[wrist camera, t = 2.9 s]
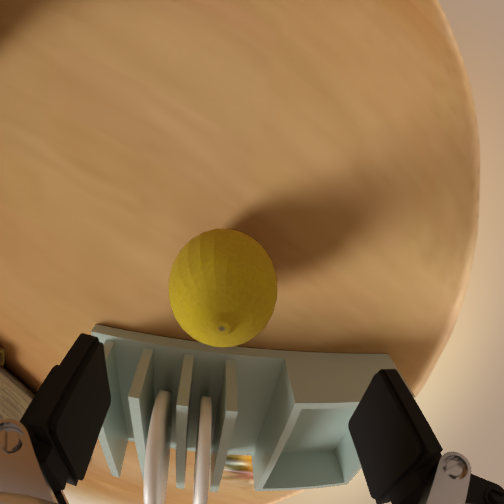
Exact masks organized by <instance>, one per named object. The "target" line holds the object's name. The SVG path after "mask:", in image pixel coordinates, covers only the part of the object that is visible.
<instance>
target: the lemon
mask: <svg viewBox="0 0 504 504" xmlns="http://www.w3.org/2000/svg"><path fill="white" fill-rule="evenodd" d="M276 299H277V276H276V272H275V269H274V266H273V263H272V260H271V259H270V257H269V256H268V254H267V253H266V251H265V250H264V248H263V247H262V246H261V245H260V244H259V243H258V242H257V241H256V240H254V239H253V238H252V237H250V236H248V235H246V234H244V233H242V232H240V231H236V230H231V229H214V230H211V231H207V232H204V233H202V234H200V235H198V236H196V237H195V238H193V239H192V240H190V241H189V242H188V243H187V244H186V245H185V246H184V247H183V248H182V249H181V251H180V252H179V254H178V256H177V258H176V259H175V261H174V263H173V266H172V270H171V274H170V278H169V300H170V305H171V308H172V311H173V313H174V316H175V318H176V320H177V322H178V323H179V324H180V326H181V327H182V329H183V330H184V331H185V332H187V333H188V334H189V335H190V336H191V337H192V338H194V339H195V340H197V341H199V342H201V343H203V344H206V345H210V346H214V347H232V346H237V345H240V344H243V343H246V342H247V341H249V340H251V339H252V338H254V337H255V336H257V335H258V334H259V333H260V332H261V331H262V330H263V329H264V328H265V326H266V324H267V323H268V321H269V319H270V318H271V316H272V314H273V310H274V307H275V303H276Z"/></svg>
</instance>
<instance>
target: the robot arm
mask: <svg viewBox="0 0 504 504" xmlns="http://www.w3.org/2000/svg"><path fill="white" fill-rule="evenodd" d="M110 404H111V393H110V387H109V381H108V375H107V368H106V361H105V353H104V345H103V343H102V342H99V339H98V337H95V336H91V335H87V334H83V333H82V334H80V335H79V337H78V338H77V340H76V341H75V343H74V344H73V346H72V347H71V349H70V350H69V352H68V353H67V355H66V356H65V358H64V359H63V361H62V362H61V364H60V365H56V366H54V367H53V368H52V370H51V371H50V373H49V374H48V376H47V377H46V379H45V380H44V382H43V383H42V385H41V387H40V388H39V390H38V391H37V393H36V395H35V396H34V398H33V400H32V401H31V403H30V404H29V406H28V408H27V410H26V411H25V413H24V415H23V416H22V418H21V420H20V421H19V422H18V421H17V420H14V419H10V418H5V419H0V504H69V503H68V501H67V499H66V497H65V495H64V493H63V490H64V488H65V485H66V482H67V483H69V484H72V485H75V486H76V485H77V482H78V479H79V480H83V479H84V476H85V473H86V470H87V467H88V465H89V462H90V459H91V456H92V453H93V450H94V447H95V445H96V442H97V439H98V436H99V434H100V431H101V428H102V425H103V423H104V420H105V418H106V415H107V412H108V410H109V407H110ZM348 428H349V431H350V434H351V437H352V440H353V443H354V446H355V449H356V452H357V455H358V458H359V461H360V464H361V467H362V469H363V473H364V476H365V479H366V482H367V485H368V488H369V491H370V494H371V497H372V498H374V499H375V500H376V503H377V504H384V503H388V502H390V501H391V503H392V504H504V489H503V488H502V487H500V486H499V485H497V484H495V483H492V482H490V481H487V480H485V479H483V478H480V477H478V476H475V475H473V474H471V466H470V463H469V461H468V460H467V459H466V458H465V457H464V456H463V455H461V454H459V453H457V452H447V453H445V454H444V455H443V456H442V455H441V453H440V452H441V451H442V450H443V449H442V447H441V445H440V444H439V442H438V440H437V438H436V437H435V435H434V433H433V431H432V429H431V427H430V426H429V424H428V422H427V421H426V418H425V417H424V415H423V414H422V412H421V410H420V408H419V406H418V405H417V403H416V402H415V399H414V398H413V396H412V394H411V393H410V391H409V389H408V388H407V386H406V384H405V383H404V381H403V379H402V378H401V376H400V374H399V373H398V371H397V370H396V369H381V370H379V371H378V373H376V374H375V375H374V376H373V378H372V380H371V382H370V384H369V386H368V388H367V390H366V391H365V393H364V395H363V397H362V399H361V401H360V402H359V404H358V406H357V408H356V409H355V411H354V413H353V415H352V416H351V418H350V420H349V423H348Z"/></svg>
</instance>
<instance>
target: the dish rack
mask: <svg viewBox="0 0 504 504" xmlns="http://www.w3.org/2000/svg"><path fill="white" fill-rule="evenodd" d="M91 332H92V336H95V337H98V339H99V342H102V343H103V345H104V353H105V361H106V368H107V375H108V381H109V387H110V393H111V404H110V407H109V410H108V412H107V415H106V418H105V420H104V423H103V425H102V428H101V431H100V434H99V436H98V438H99V441H100V444H101V447H102V450H103V452H104V455H105V458H106V461H107V463H108V466H109V468H110V471H111V473H112V476H116V477H120V473H121V469H122V464H123V460H124V456H125V451H126V447H127V443H128V440H129V441H134V442H135V444H136V449H137V454H138V459H139V463H140V468H141V473H142V477H143V481H144V504H165V499H166V491H167V481H168V470H169V458H170V448H173V449H176V487H177V488H181V489H184V485H185V471H186V458H187V450H188V451H196V452H195V467H194V485H193V504H207V499H208V485H209V468H210V492H218V488H219V484H220V481H221V477H222V473H223V469H224V465H225V461H226V457H227V454H233V455H252V466H253V477H254V488H255V491H280V490H299V489H311V488H321V487H329V486H338V485H345V484H347V483H349V481H350V480H351V479H352V478H353V477H354V476H355V475H356V474H357V473H358V471H359V470H360V469H361V468H362V467H361V464H360V461H359V458H358V455H357V452H356V449H355V446H354V443H353V440H352V437H351V434H350V431H349V428H348V423H349V420H350V418H351V416H352V415H353V413H354V411H355V409H356V408H357V406H358V404H359V402H360V401H361V399H362V397H363V395H364V393H365V391H366V390H367V388H368V386H369V384H370V382H371V380H372V378H373V376H374V375H375V374H376V373H378V371H379V370H381V369H396V370H397V371H398V373H399V374H400V376H401V378H402V379H403V381H404V383H405V384H406V386H407V388H408V389H409V391H410V393H411V394H412V396H413V398H414V397H415V396H414V394H413V393H412V391H411V389H410V388H409V386H408V384H407V383H406V381H405V380H404V378H403V376H402V375H401V373H400V372H399V370H398V368H397V367H396V365H395V364H394V362H393V361H392V359H391V358H390V356H389V354H351V353H319V352H300V351H284V350H271V349H259V348H248V347H238V346H232V347H214V346H210V345H206V344H203V343H201V342H196V341H189V340H182V339H175V338H168V337H162V336H156V335H150V334H144V333H139V332H133V331H128V330H122V329H117V328H112V327H107V326H102V325H98V324H96V325H95V326H94V328H93V330H92V331H91Z"/></svg>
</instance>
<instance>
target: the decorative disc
mask: <svg viewBox="0 0 504 504" xmlns="http://www.w3.org/2000/svg"><path fill="white" fill-rule="evenodd" d="M4 362H5V352H4V349H3V348H2V347H0V419H5V418H10V419H14V420H17V421H18V422H19V421H20V420H21V418H22V416H23V415H24V413H25V411H26V410H27V408H28V406H29V404H30V403H31V401H32V400H33V398H34V396H35V395H34V394H33V393H32V392H31V391H30V390H29V389H28V388H27V387H26V386H25V385H24V384H23V383H22V382H20V381H19V380H18V379H17V378H15V377H14V376H13V375H12V374H11V373H9V372H8V371H7V370H6V369H5V368H4V367H3V365H4Z"/></svg>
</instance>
